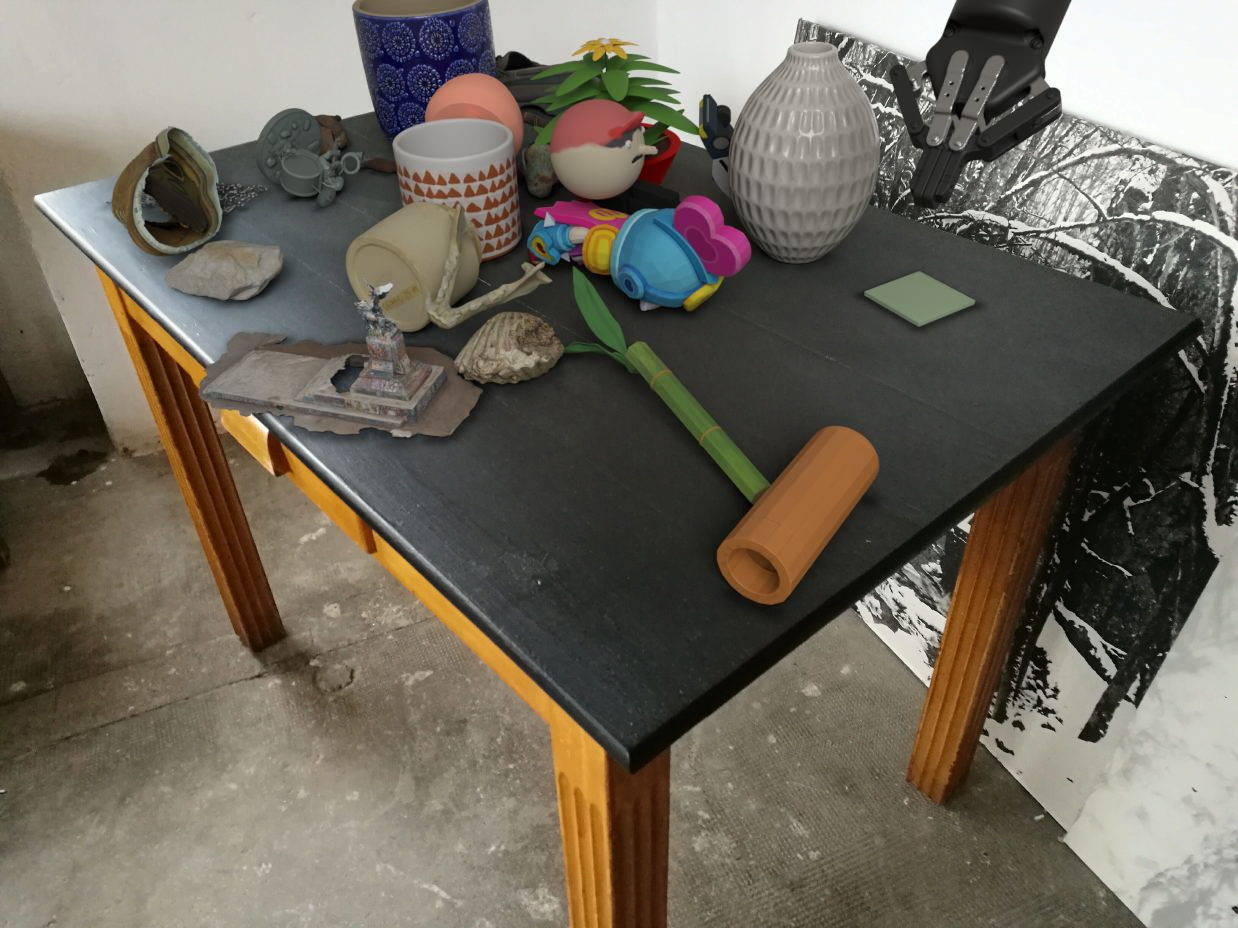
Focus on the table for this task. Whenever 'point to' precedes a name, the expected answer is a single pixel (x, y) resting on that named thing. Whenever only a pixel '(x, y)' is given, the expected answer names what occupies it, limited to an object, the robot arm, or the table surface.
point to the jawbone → (453, 316)
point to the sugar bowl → (411, 262)
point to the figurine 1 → (301, 156)
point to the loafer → (517, 75)
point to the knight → (645, 248)
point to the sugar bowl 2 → (477, 103)
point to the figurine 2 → (331, 132)
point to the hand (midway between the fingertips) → (924, 203)
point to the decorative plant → (665, 389)
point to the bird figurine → (538, 162)
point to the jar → (798, 515)
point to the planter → (419, 53)
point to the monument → (380, 397)
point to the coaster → (919, 298)
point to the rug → (218, 196)
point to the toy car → (716, 138)
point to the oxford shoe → (170, 195)
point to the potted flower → (620, 99)
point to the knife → (379, 164)
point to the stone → (227, 270)
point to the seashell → (509, 349)
